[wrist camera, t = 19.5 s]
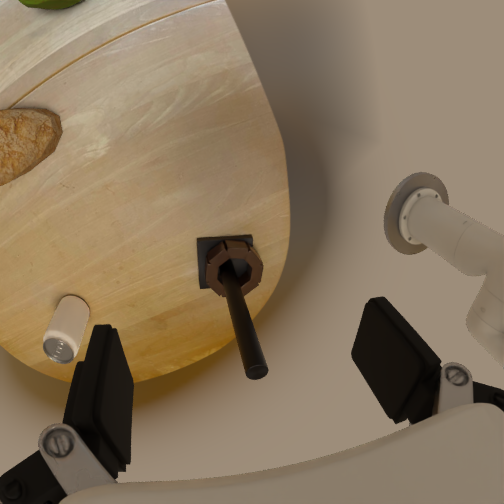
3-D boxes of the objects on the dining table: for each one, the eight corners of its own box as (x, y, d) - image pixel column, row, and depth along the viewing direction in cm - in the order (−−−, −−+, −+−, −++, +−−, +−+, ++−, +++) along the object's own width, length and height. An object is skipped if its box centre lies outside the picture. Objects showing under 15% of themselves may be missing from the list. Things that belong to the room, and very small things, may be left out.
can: (95, 305, 51) (81, 349, 41) (83, 326, 53) (70, 371, 42) (65, 288, 48) (45, 330, 38) (55, 311, 50) (37, 353, 39)
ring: (262, 241, 51) (266, 249, 48) (254, 287, 55) (257, 297, 52) (207, 238, 49) (208, 246, 46) (203, 287, 53) (204, 297, 50)
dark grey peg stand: (251, 234, 52) (303, 335, 29) (249, 281, 55) (293, 391, 33) (196, 238, 50) (211, 347, 28) (199, 285, 54) (216, 402, 32)
